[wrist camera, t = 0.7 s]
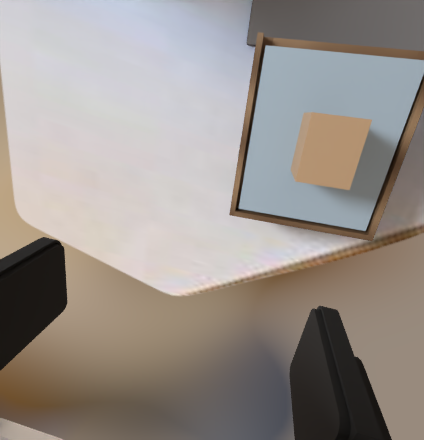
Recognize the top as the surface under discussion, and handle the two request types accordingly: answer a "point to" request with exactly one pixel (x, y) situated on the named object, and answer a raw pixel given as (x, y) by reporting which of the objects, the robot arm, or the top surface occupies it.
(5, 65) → the top surface
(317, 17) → the mat
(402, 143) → the walnut box
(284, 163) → the lid
